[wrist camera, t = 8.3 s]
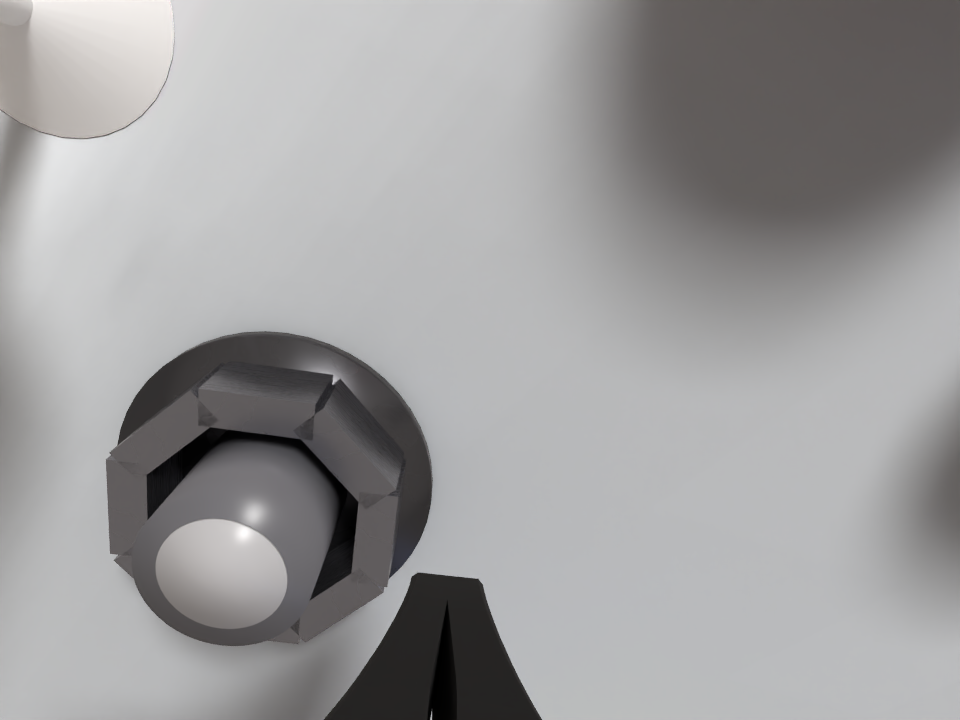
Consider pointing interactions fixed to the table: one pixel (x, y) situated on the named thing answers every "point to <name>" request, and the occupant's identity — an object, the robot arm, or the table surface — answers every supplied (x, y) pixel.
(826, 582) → the table surface
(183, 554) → the cap
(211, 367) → the socket
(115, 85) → the champagne flute
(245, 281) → the table surface
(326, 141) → the table surface
